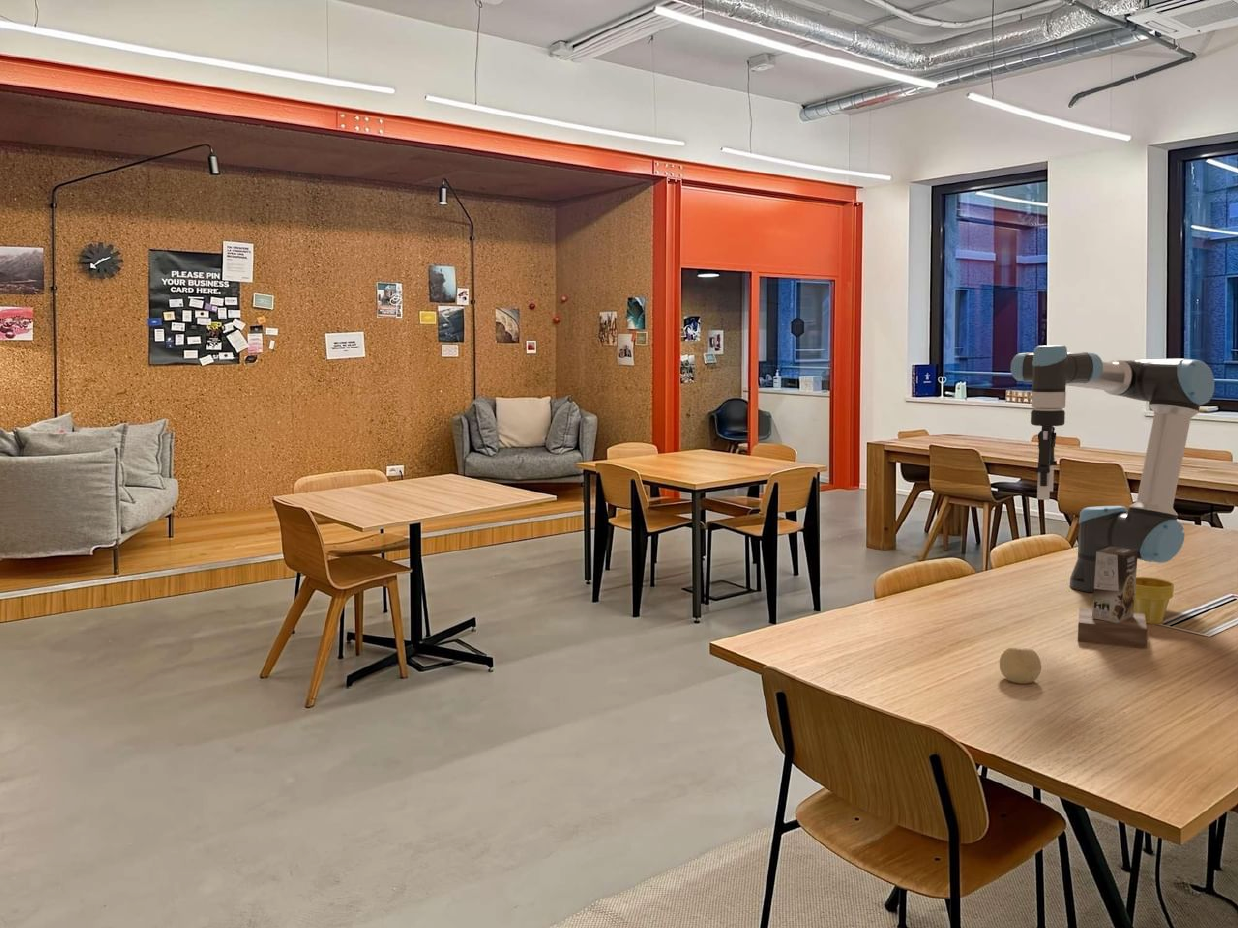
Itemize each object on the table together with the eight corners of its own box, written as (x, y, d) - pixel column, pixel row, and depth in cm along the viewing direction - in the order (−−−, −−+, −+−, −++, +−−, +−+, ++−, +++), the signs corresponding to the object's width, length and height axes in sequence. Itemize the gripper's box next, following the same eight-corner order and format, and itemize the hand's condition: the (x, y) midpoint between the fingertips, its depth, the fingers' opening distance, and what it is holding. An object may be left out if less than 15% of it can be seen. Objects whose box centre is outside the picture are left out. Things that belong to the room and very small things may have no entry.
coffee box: (1119, 624, 226) (1124, 555, 224) (1090, 618, 231) (1094, 550, 229) (1134, 616, 232) (1139, 549, 230) (1106, 611, 237) (1110, 544, 235)
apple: (1007, 686, 198) (994, 648, 201) (1006, 690, 205) (994, 654, 208) (1047, 676, 196) (1033, 639, 199) (1045, 681, 204) (1032, 644, 207)
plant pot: (1177, 627, 239) (1180, 587, 238) (1131, 625, 241) (1133, 585, 240) (1163, 615, 249) (1165, 577, 248) (1118, 613, 251) (1120, 576, 250)
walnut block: (1078, 627, 241) (1079, 607, 240) (1143, 634, 235) (1144, 613, 234) (1077, 643, 229) (1078, 622, 228) (1146, 650, 223) (1147, 629, 222)
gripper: (1035, 405, 254) (1033, 487, 257) (1026, 412, 232) (1024, 502, 235) (1067, 405, 251) (1064, 488, 253) (1061, 413, 229) (1058, 503, 231)
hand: (1045, 495), depth 244 cm, fingers open, 13 cm apart
